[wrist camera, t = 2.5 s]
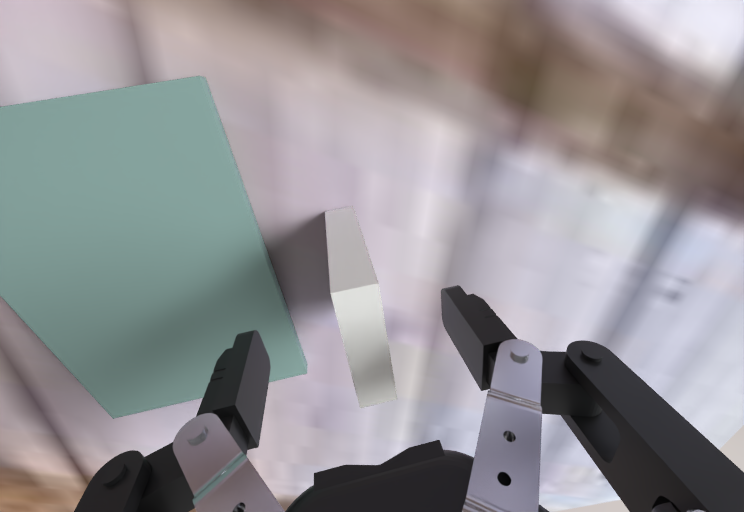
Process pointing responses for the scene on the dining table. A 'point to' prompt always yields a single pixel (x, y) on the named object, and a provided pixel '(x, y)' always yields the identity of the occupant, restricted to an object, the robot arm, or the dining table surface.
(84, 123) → the mat
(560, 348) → the dining table surface
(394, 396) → the rectangular block
